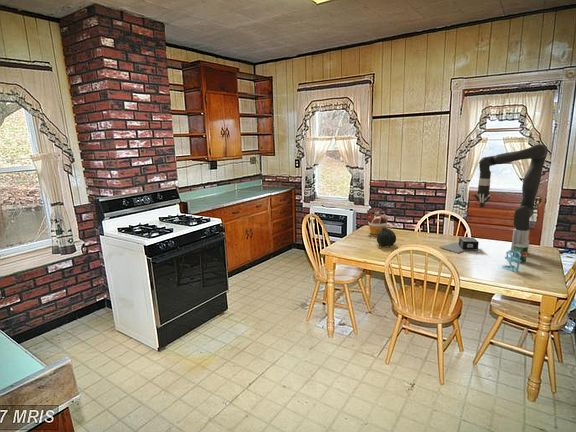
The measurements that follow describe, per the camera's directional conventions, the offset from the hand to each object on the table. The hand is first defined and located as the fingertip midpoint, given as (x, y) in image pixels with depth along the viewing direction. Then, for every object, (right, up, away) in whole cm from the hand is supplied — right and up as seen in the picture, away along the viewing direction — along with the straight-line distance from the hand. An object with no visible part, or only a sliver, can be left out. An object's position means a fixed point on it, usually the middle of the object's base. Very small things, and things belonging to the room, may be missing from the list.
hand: (481, 207), depth 259 cm
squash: (-68, -29, +12) cm, 75 cm away
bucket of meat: (-67, -21, +46) cm, 84 cm away
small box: (-12, -28, -8) cm, 32 cm away
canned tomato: (+9, -36, -28) cm, 47 cm away
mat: (-18, -30, +1) cm, 35 cm away
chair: (-4, -40, -41) cm, 57 cm away
